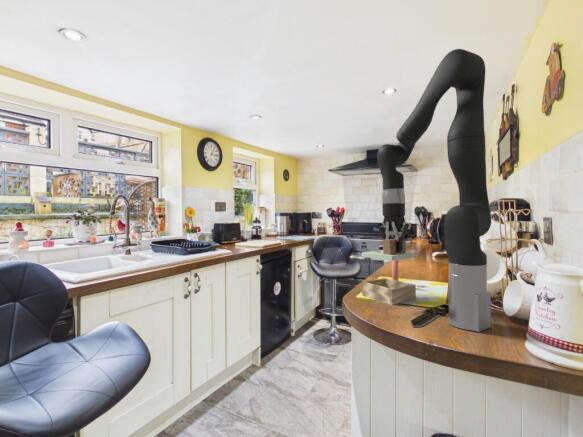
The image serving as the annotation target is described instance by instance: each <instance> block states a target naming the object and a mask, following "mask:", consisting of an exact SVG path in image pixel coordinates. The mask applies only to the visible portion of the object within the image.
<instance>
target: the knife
mask: <svg viewBox="0 0 583 437" xmlns="http://www.w3.org/2000/svg"><path fill="white" fill-rule="evenodd" d="M434 309H436V311H435V312H434V311H433V310H434ZM423 312H424V313H422V314H420V315H418V316H416V317H415V318H413V319H411V320H410V322H411V325H412V328H416V327H417V328H419V327H420V328H421V327H425V326H426V325H428V323H430V322H432V321H434V320H435V319H437V318H439V317H441V316H444V317H446V314H449V304H445V303H444V304H441V305H437V306H433V307H430V309H429V308H425V310H424V311H423Z"/></svg>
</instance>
